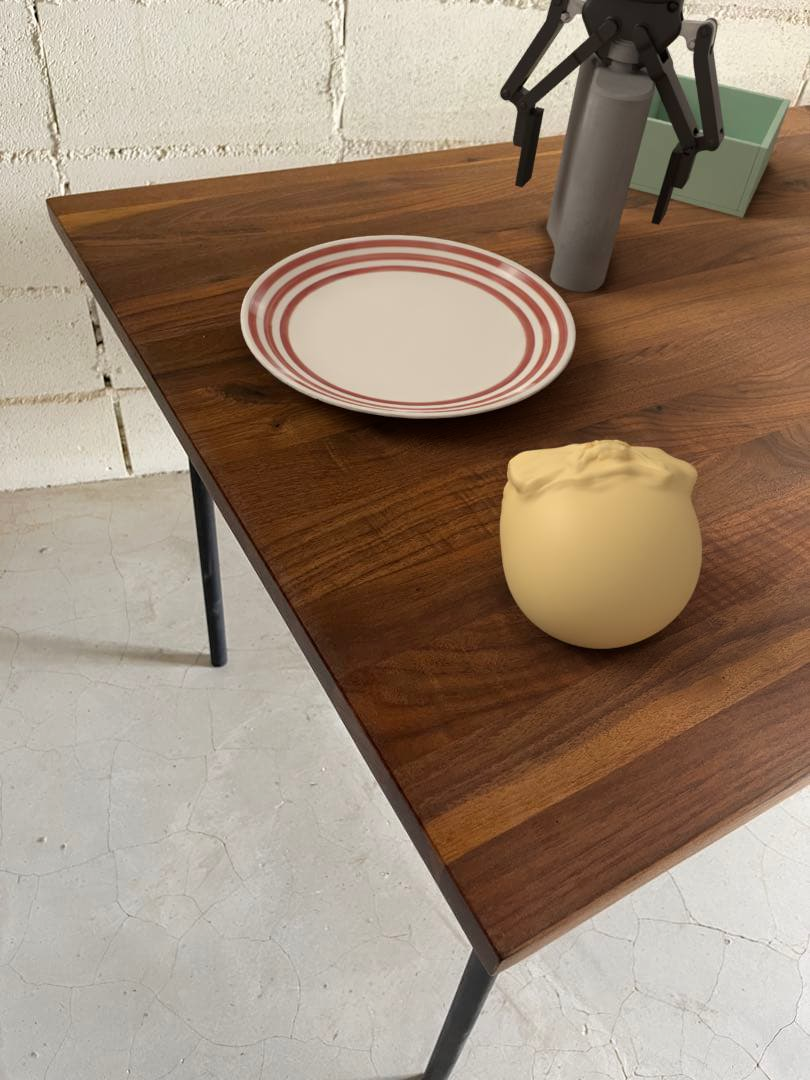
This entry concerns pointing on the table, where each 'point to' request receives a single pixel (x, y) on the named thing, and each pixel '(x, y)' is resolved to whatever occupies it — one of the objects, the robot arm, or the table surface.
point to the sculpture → (600, 540)
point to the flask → (597, 165)
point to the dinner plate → (408, 326)
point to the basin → (725, 171)
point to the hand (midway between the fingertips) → (589, 200)
